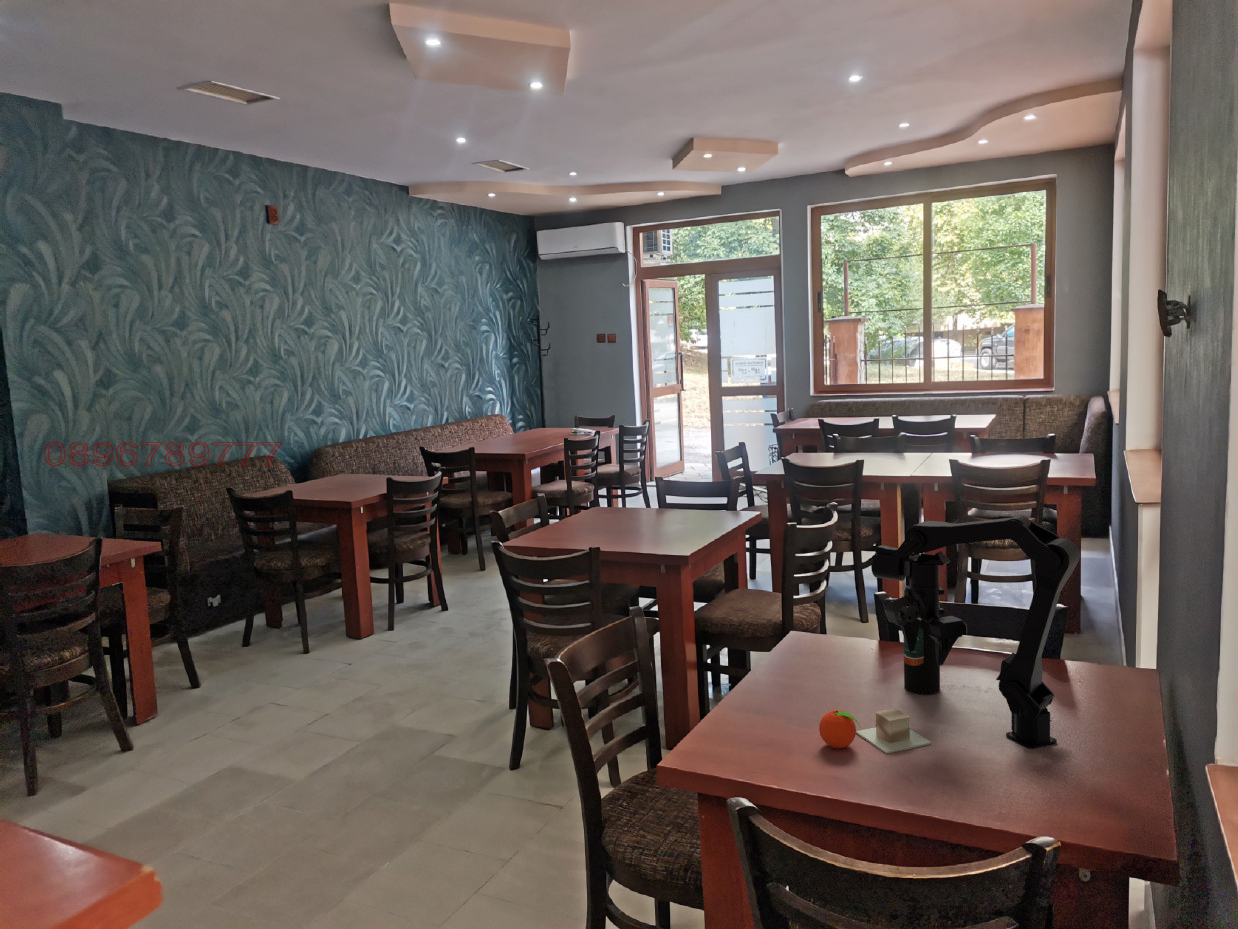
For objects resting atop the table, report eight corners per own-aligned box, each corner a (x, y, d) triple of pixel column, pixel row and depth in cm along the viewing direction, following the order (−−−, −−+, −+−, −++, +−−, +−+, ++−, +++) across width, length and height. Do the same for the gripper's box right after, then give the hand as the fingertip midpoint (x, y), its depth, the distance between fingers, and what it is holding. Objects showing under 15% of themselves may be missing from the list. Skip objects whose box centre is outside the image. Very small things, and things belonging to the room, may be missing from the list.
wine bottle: (942, 695, 190) (941, 560, 187) (906, 694, 192) (904, 560, 188) (937, 682, 198) (936, 552, 194) (902, 681, 199) (900, 552, 196)
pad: (931, 744, 167) (931, 742, 167) (886, 753, 164) (886, 751, 164) (899, 724, 177) (899, 722, 176) (856, 733, 174) (855, 731, 173)
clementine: (866, 743, 169) (865, 708, 168) (856, 758, 163) (855, 721, 162) (825, 736, 173) (824, 701, 172) (814, 750, 167) (813, 714, 166)
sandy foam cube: (909, 739, 169) (909, 716, 168) (889, 743, 167) (889, 720, 167) (895, 730, 173) (895, 708, 173) (876, 734, 172) (875, 712, 171)
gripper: (863, 578, 184) (865, 650, 186) (920, 600, 166) (921, 679, 168) (908, 572, 187) (909, 642, 189) (968, 592, 170) (969, 670, 172)
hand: (925, 658), depth 179 cm, fingers open, 9 cm apart
